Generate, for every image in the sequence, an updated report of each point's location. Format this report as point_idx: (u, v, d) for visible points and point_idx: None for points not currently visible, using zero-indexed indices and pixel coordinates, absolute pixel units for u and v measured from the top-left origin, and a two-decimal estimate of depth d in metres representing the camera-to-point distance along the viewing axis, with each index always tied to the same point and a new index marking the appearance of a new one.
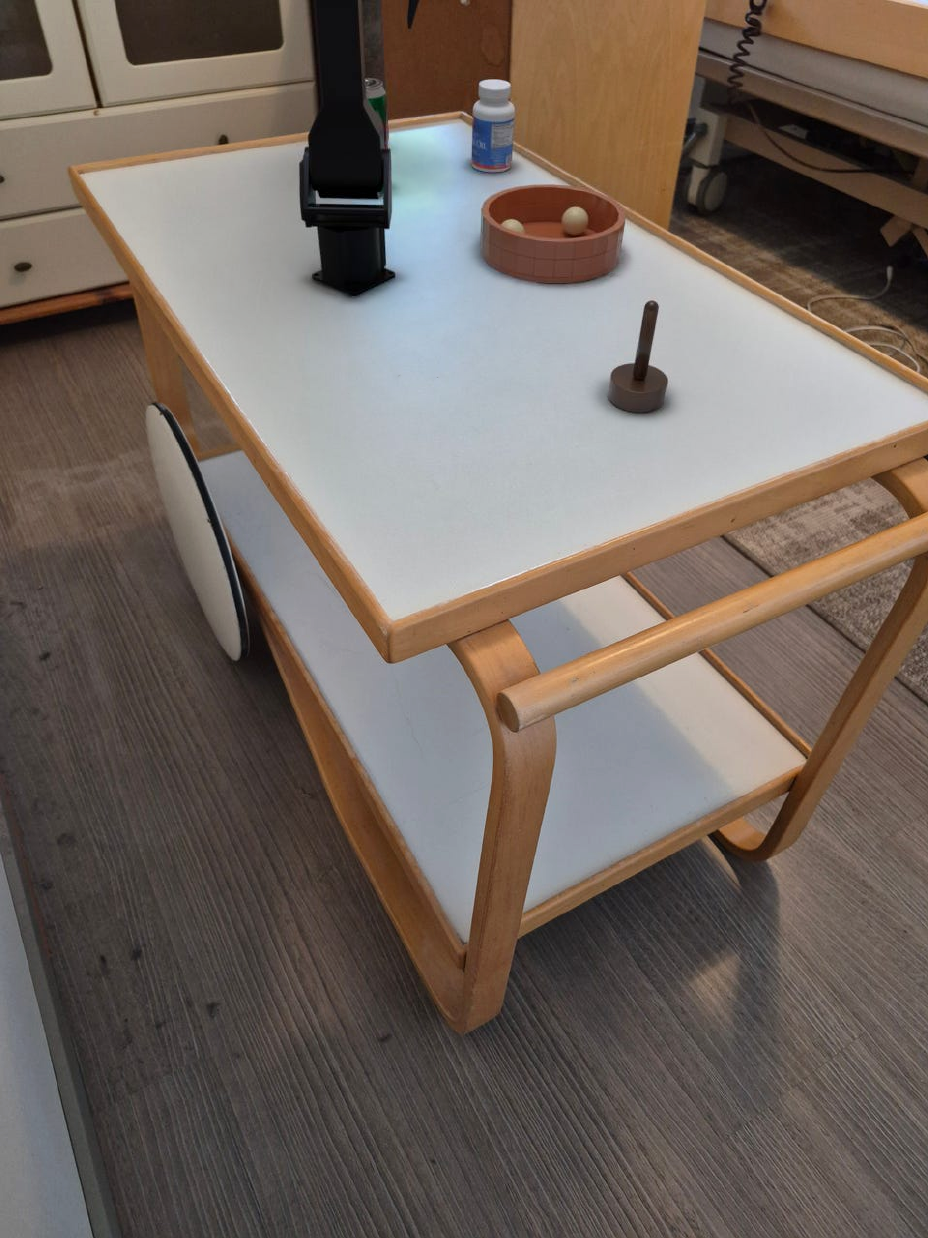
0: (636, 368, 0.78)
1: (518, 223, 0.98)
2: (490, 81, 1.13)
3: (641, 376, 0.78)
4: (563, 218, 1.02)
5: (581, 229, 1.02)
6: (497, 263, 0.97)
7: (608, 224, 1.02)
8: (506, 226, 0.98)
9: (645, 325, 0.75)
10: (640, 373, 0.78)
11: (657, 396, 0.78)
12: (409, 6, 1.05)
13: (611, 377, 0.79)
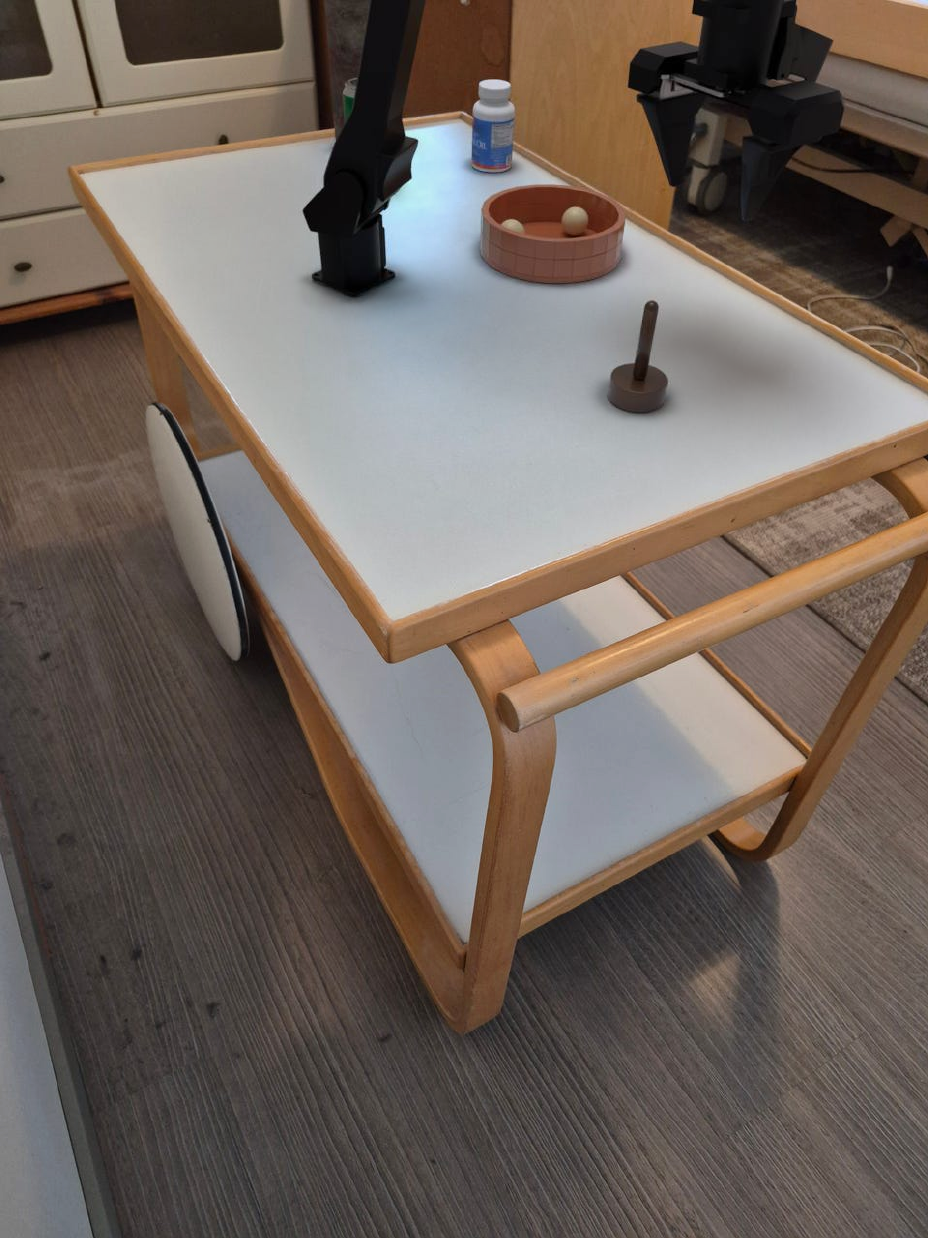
0: (636, 368, 0.78)
1: (518, 223, 0.98)
2: (490, 81, 1.13)
3: (641, 376, 0.78)
4: (563, 218, 1.02)
5: (581, 229, 1.02)
6: (497, 263, 0.97)
7: (608, 224, 1.02)
8: (506, 226, 0.98)
9: (645, 325, 0.75)
10: (640, 373, 0.78)
11: (657, 396, 0.78)
12: (741, 184, 0.72)
13: (611, 377, 0.79)
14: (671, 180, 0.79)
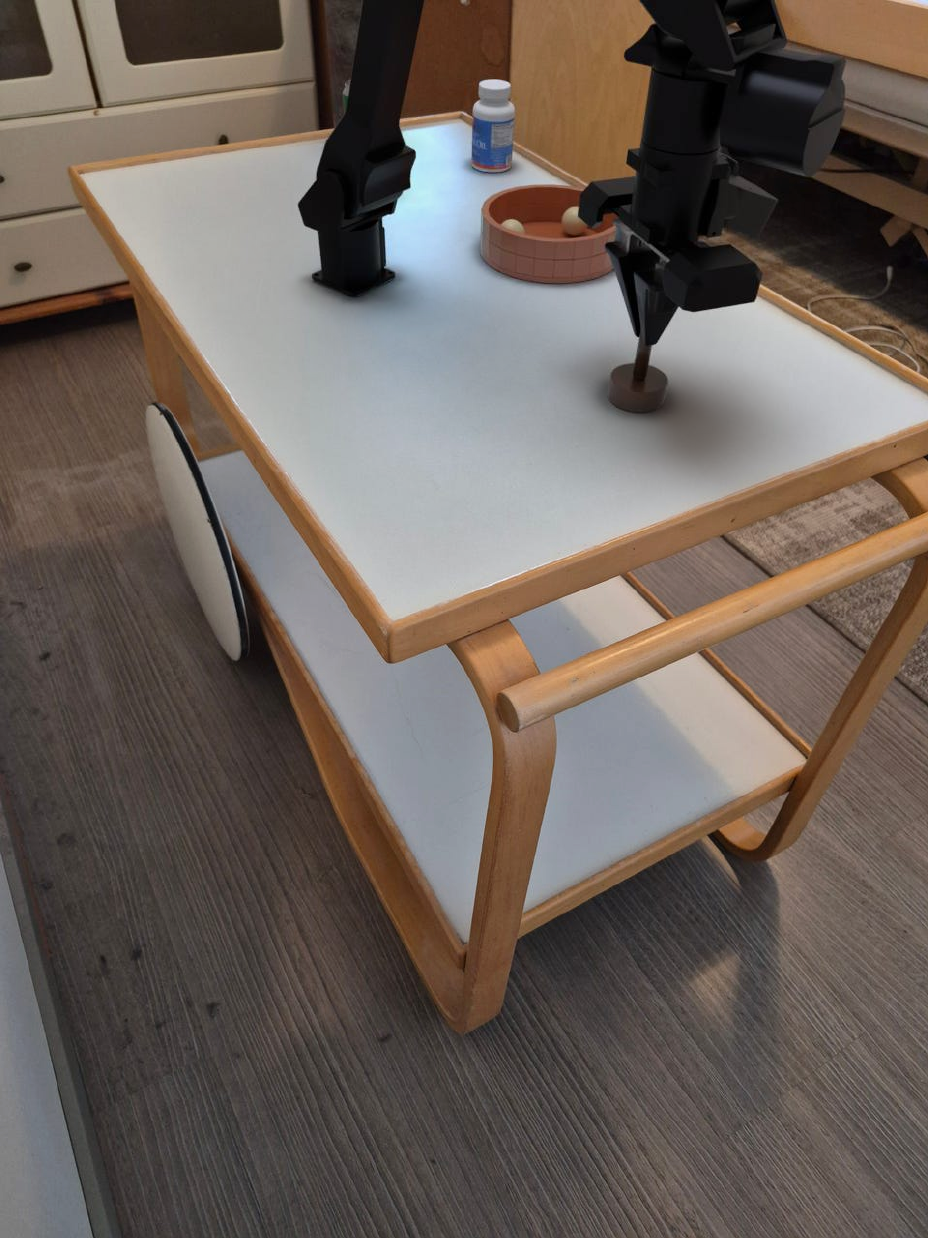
0: (636, 367, 0.78)
1: (518, 223, 0.98)
2: (490, 81, 1.13)
3: (641, 376, 0.78)
4: (563, 218, 1.02)
5: (581, 229, 1.02)
6: (497, 263, 0.97)
7: (608, 224, 1.02)
8: (506, 226, 0.98)
9: None
10: (640, 373, 0.78)
11: (657, 396, 0.78)
12: (639, 313, 0.73)
13: (611, 377, 0.79)
14: (636, 331, 0.76)
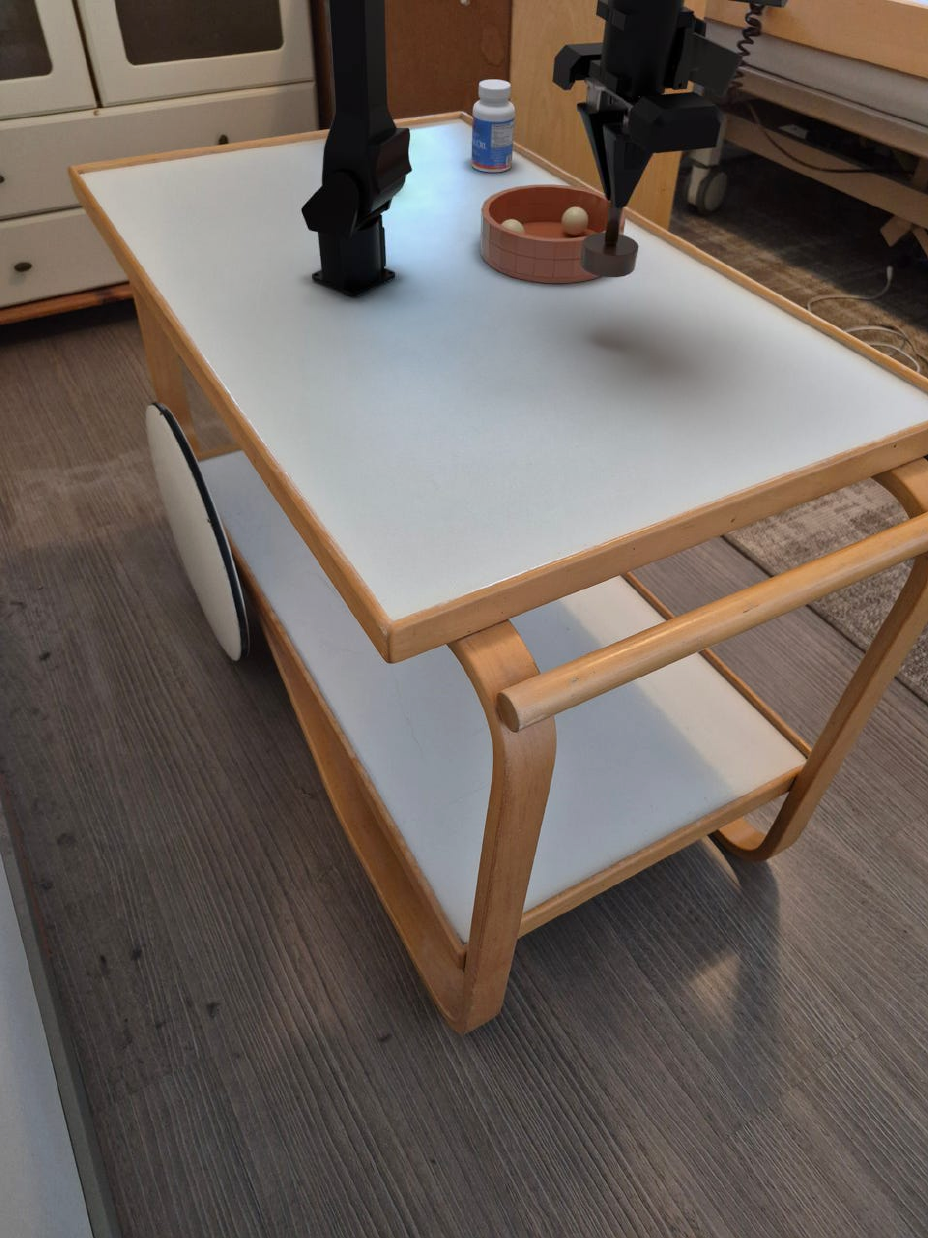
0: (608, 232, 0.80)
1: (518, 223, 0.98)
2: (490, 81, 1.13)
3: (612, 241, 0.80)
4: (563, 218, 1.02)
5: (581, 229, 1.02)
6: (497, 263, 0.97)
7: None
8: (506, 226, 0.98)
9: None
10: (611, 238, 0.80)
11: (627, 261, 0.80)
12: (608, 171, 0.75)
13: (583, 243, 0.81)
14: (607, 194, 0.79)
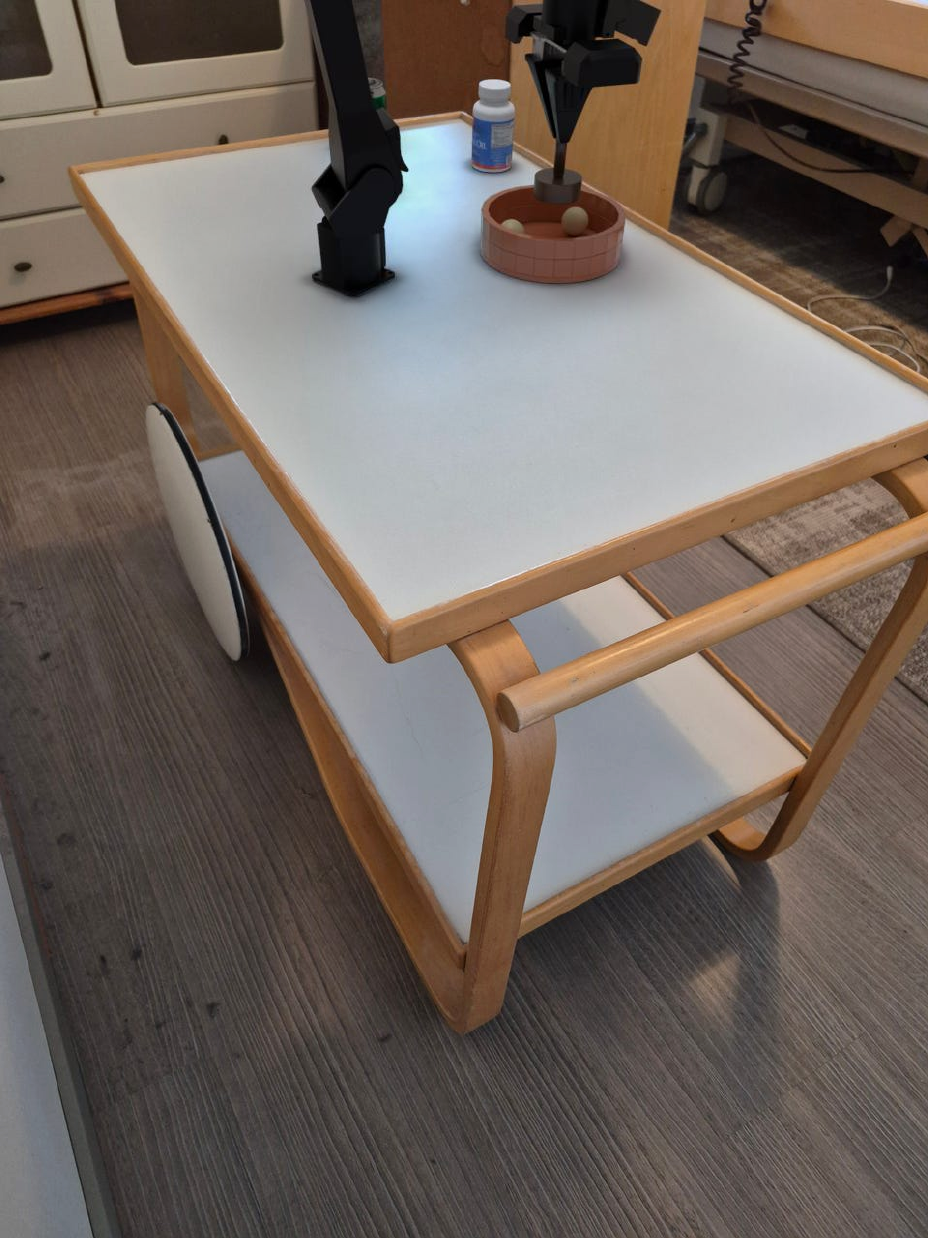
0: (555, 165, 0.94)
1: (518, 223, 0.98)
2: (490, 81, 1.13)
3: (559, 173, 0.94)
4: (563, 218, 1.02)
5: (581, 229, 1.02)
6: (497, 263, 0.97)
7: (608, 224, 1.02)
8: (506, 226, 0.98)
9: None
10: (558, 170, 0.94)
11: (572, 190, 0.94)
12: (552, 111, 0.89)
13: (535, 176, 0.95)
14: (553, 132, 0.92)
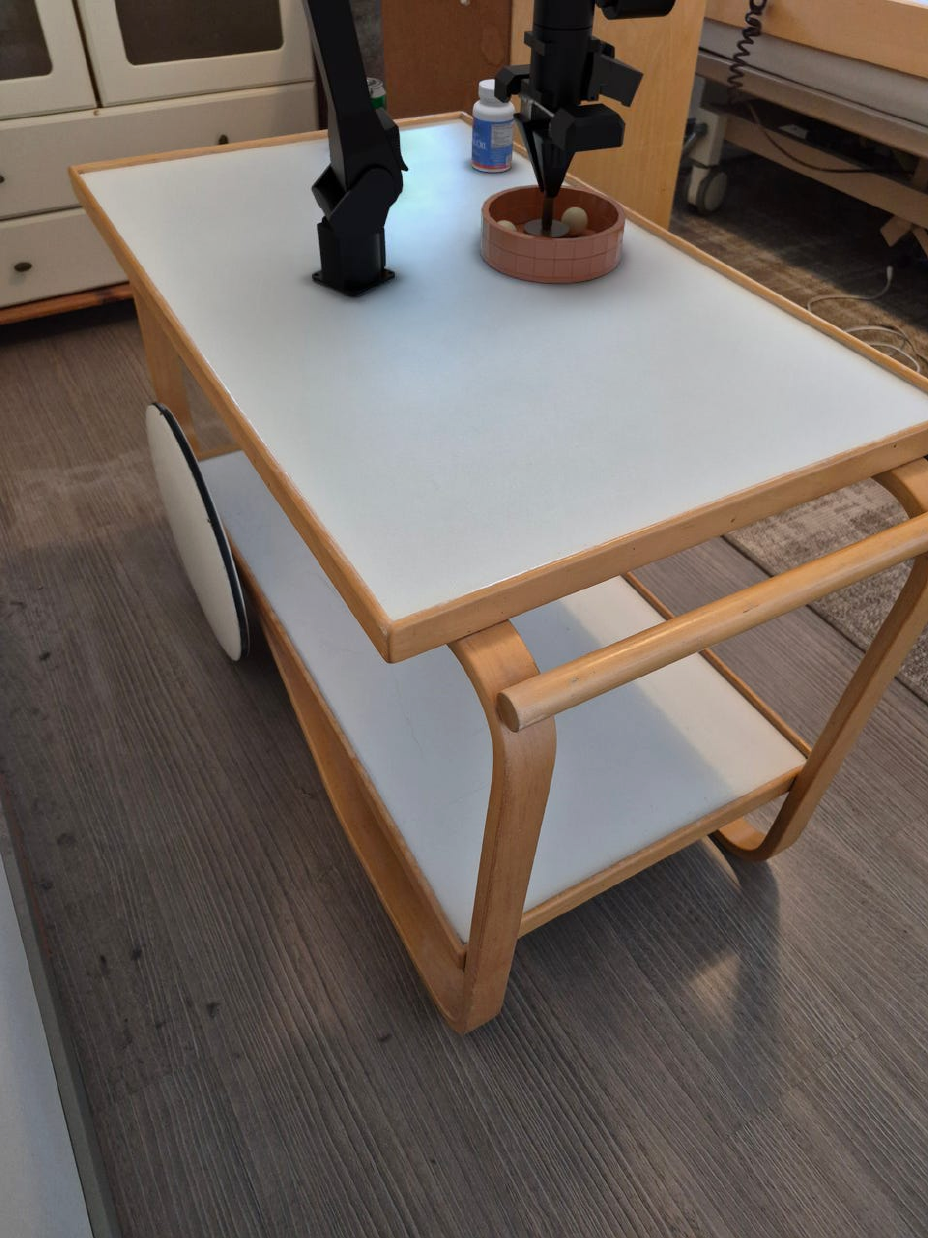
0: (543, 218, 0.97)
1: (504, 224, 0.98)
2: (490, 81, 1.13)
3: (547, 225, 0.98)
4: (562, 219, 1.02)
5: (581, 229, 1.02)
6: (497, 263, 0.97)
7: (608, 224, 1.02)
8: None
9: None
10: (546, 223, 0.98)
11: None
12: (540, 168, 0.93)
13: (524, 227, 0.99)
14: (541, 187, 0.96)
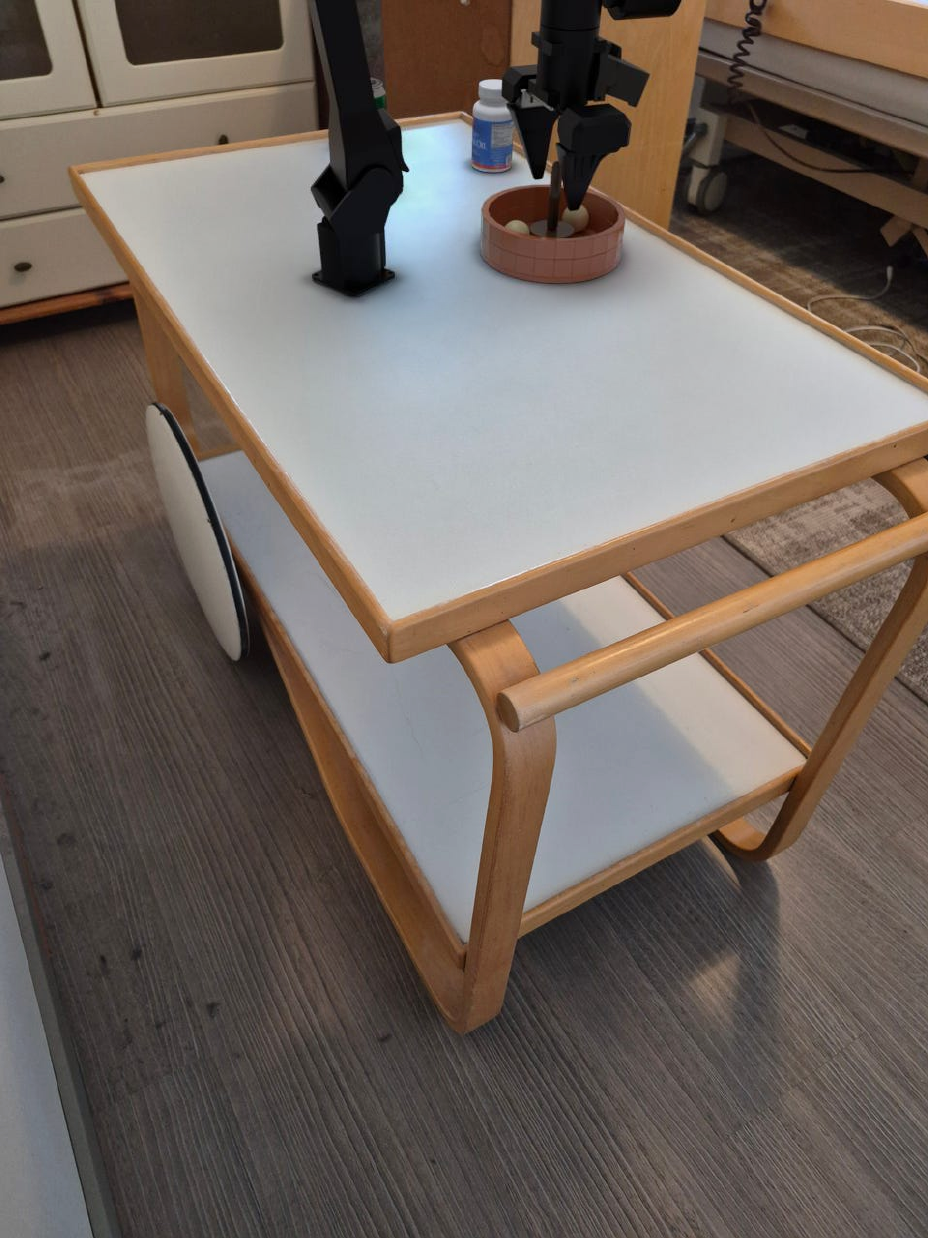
0: (549, 219, 0.98)
1: (526, 228, 0.98)
2: (490, 81, 1.13)
3: (553, 226, 0.99)
4: (564, 212, 1.02)
5: (582, 220, 1.02)
6: (497, 263, 0.97)
7: (608, 224, 1.02)
8: (514, 227, 0.98)
9: (553, 181, 0.95)
10: (552, 224, 0.98)
11: None
12: (562, 181, 0.91)
13: (529, 228, 0.99)
14: (533, 174, 0.99)
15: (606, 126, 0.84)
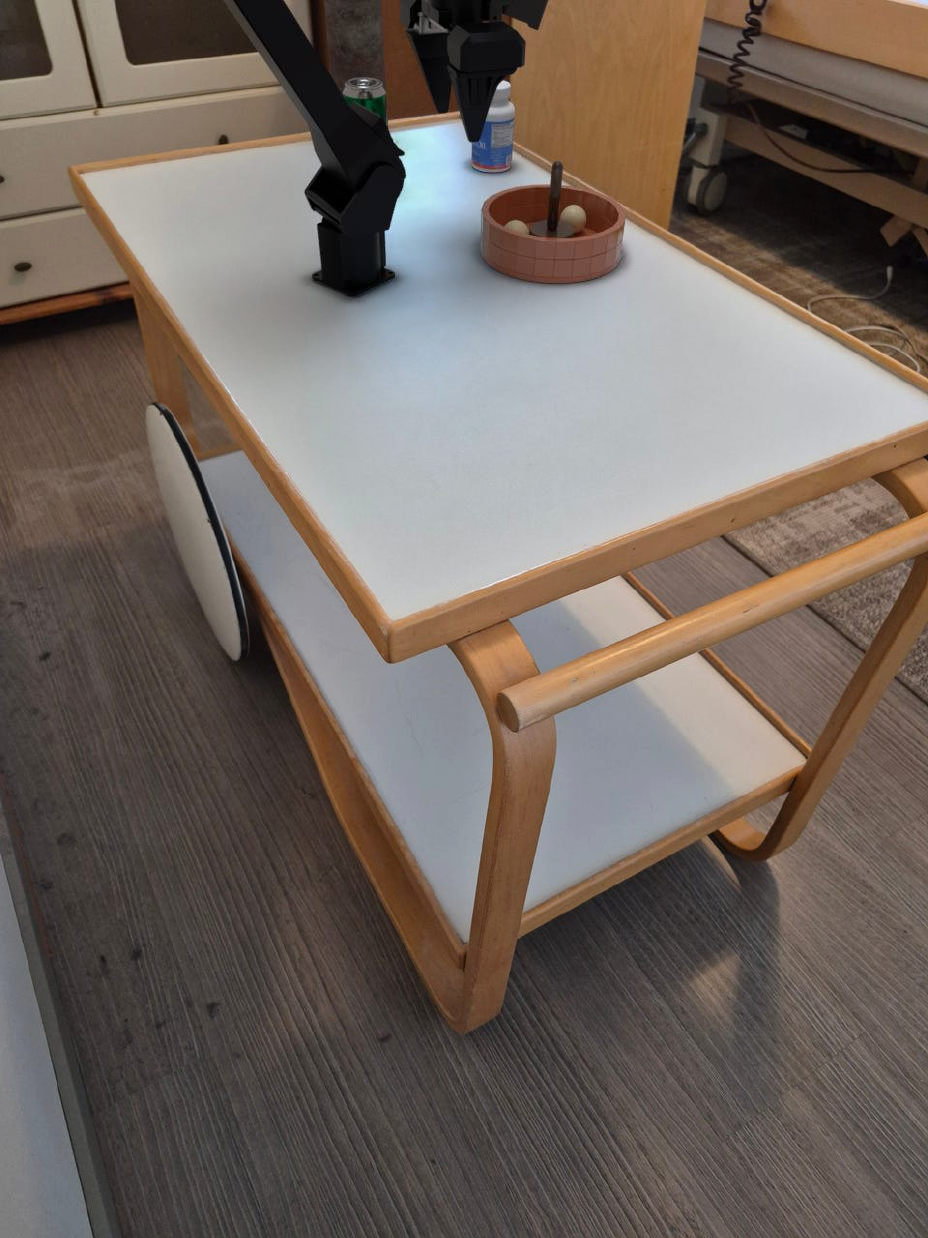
0: (549, 219, 0.98)
1: (525, 228, 0.98)
2: None
3: (553, 226, 0.99)
4: (561, 217, 1.02)
5: (580, 223, 1.02)
6: (497, 263, 0.97)
7: (608, 224, 1.02)
8: (513, 227, 0.98)
9: (553, 181, 0.95)
10: (552, 224, 0.98)
11: None
12: None
13: (529, 228, 0.99)
14: (437, 107, 0.93)
15: (496, 43, 0.78)
